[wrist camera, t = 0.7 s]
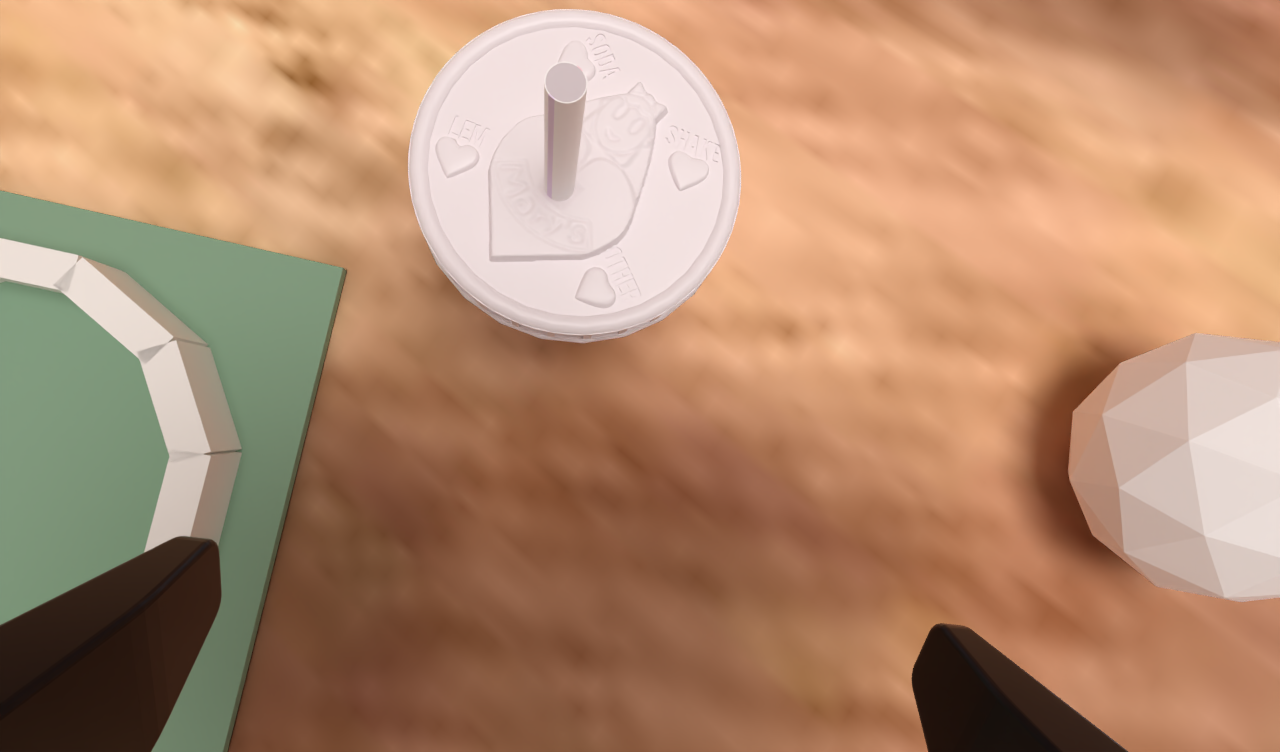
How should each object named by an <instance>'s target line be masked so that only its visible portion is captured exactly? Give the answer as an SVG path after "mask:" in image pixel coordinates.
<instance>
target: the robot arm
mask: <svg viewBox="0 0 1280 752" xmlns="http://www.w3.org/2000/svg"><path fill="white" fill-rule="evenodd" d="M221 597H222V589H221V573H220V556H219V548H218V545H217V543H216V542H215V541H213V540H212V539H207V538H198V537H189V536H178V537H175V538H172V539H170V540H168V541H166V542H164V543H162V544H160V545H158V546H156V547H154V548H152V549H150V550H148V551H146V552H144V553H142V554H140V555H138V556H136V557H134V558H132V559H130V560H128V561H126V562H124V563H122V564H120V565H118V566H116V567H114V568H112V569H110V570H108V571H106V572H104V573H102V574H100V575H98V576H96V577H94V578H92V579H90V580H88V581H86V582H84V583H83V584H81V585H79V586H77V587H75V588H73V589H71V590H69V591H67V592H65V593H63V594H61V595H59V596H57V597H55V598H53V599H51V600H49V601H47V602H45V603H43V604H41V605H39V606H37V607H35V608H33V609H31V610H29V611H27V612H25V613H23V614H21V615H19V616H17V617H15V618H13V619H11V620H9V621H7V622H5V623H3V624H1V625H0V752H151V751H152V749H153V748H154V746H155V744H156V742H157V741H158V739H159V737H160V735H161V733H162V731H163V729H164V727H165V725H166V723H167V721H168V719H169V717H170V715H171V713H172V711H173V708H174V706H175V704H176V702H177V700H178V698H179V695H180V693H181V691H182V689H183V687H184V685H185V683H186V680H187V678H188V676H189V674H190V672H191V670H192V668H193V665H194V663H195V661H196V659H197V657H198V655H199V652H200V650H201V648H202V646H203V644H204V642H205V640H206V637H207V635H208V633H209V631H210V629H211V627H212V625H213V622H214V620H215V618H216V616H217V613H218V611H219V607H220V603H221ZM912 687H913V692H914V696H915V700H916V704H917V708H918V712H919V716H920V720H921V724H922V728H923V732H924V736H925V740H926V744H927V749H928V752H1128V751H1127V750H1126V749H1124V748H1123V747H1122V746H1120V745H1119V744H1118V743H1117V742H1115V741H1114V740H1113V739H1111V738H1110V737H1109V736H1108V735H1106V734H1105V733H1104V732H1102V731H1101V730H1100V729H1099V728H1097V727H1096V726H1095V725H1093V724H1092V723H1091V722H1090V721H1088V720H1087V719H1086V718H1084V717H1083V716H1082V715H1081V714H1079V713H1078V712H1077V711H1075V710H1074V709H1073V708H1072V707H1070V706H1069V705H1068V704H1066V703H1065V702H1064V701H1063V700H1061V699H1060V698H1059V697H1057V696H1056V695H1055V694H1054V693H1052V692H1051V691H1050V690H1048V689H1047V688H1046V687H1045V686H1043V685H1042V684H1041V683H1039V682H1038V681H1037V680H1036V679H1034V678H1033V677H1032V676H1030V675H1029V674H1028V673H1027V672H1025V671H1024V670H1023V669H1021V668H1020V667H1019V666H1018V665H1016V664H1015V663H1014V662H1012V661H1011V660H1010V659H1009V658H1007V657H1006V656H1005V655H1003V654H1002V653H1001V652H1000V651H998V650H997V649H996V648H994V647H993V646H992V645H991V644H989V643H988V642H987V641H985V640H984V639H983V638H982V637H980V636H979V635H978V634H976V633H975V632H974V631H973V630H971V629H970V628H968V627H965V626H961V625H952V624H944V623H940V624H936V625H935V626H933V627H932V628H931V630H930V632H929V634H928V636H927V638H926V640H925V643H924V645H923V647H922V649H921V652H920V654H919V656H918V658H917V660H916V663H915V665H914V668H913V672H912Z"/></svg>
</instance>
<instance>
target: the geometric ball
mask: <svg viewBox="0 0 1280 752" xmlns="http://www.w3.org/2000/svg"><path fill="white" fill-rule="evenodd" d="M1068 474H1069V480H1070V483H1071V485H1072V487H1073V490H1074V492H1075V495H1076V497H1077V499H1078V502H1079V504H1080V507H1081V509H1082V511H1083V514H1084V516H1085V519H1086V521H1087V523H1088V526H1089V528H1090V531H1091V533H1092V535H1093V536H1094V537H1095V538H1097V539H1098V540H1099V541H1100V542H1101V543H1103V544H1104V545H1105V546H1106V547H1108V548H1109V549H1110V550H1111V551H1113V552H1114V553H1115V554H1116V555H1118V556H1119V557H1120V558H1121V559H1123V560H1124V561H1125V562H1126V563H1128V564H1129V565H1130V566H1131V567H1133V568H1134V569H1135V570H1136V571H1138V572H1139V573H1140V574H1141V575H1143V576H1144V577H1145V578H1146V579H1148V580H1149V581H1150V582H1151V583H1153V584H1154V585H1155V586H1156V587H1161V588H1166V589H1172V590H1177V591H1183V592H1188V593H1194V594H1199V595H1205V596H1210V597H1216V598H1221V599H1227V600H1232V601H1238V602H1245V601H1253V600H1262V599H1271V598H1280V342H1274V341H1265V340H1255V339H1246V338H1237V337H1228V336H1219V335H1210V334H1201V333H1194V334H1192V335H1189V336H1187V337H1184V338H1182V339H1179V340H1177V341H1174V342H1172V343H1169V344H1166V345H1164V346H1161V347H1159V348H1156V349H1154V350H1151V351H1149V352H1146V353H1144V354H1141V355H1139V356H1136V357H1134V358H1131V359H1129V360H1126V361H1124V362H1121V363H1120V364H1119V365H1118V366H1117V367H1116V368H1115V369H1114V370H1113V371H1112V372H1111V373H1110V374H1109V375H1108V376H1107V377H1106V378H1105V379H1104V380H1103V381H1102V382H1101V383H1100V384H1099V385H1098V386H1097V387H1096V388H1095V389H1094V390H1093V392H1092V393H1091V394H1090V395H1089V396H1088V397H1087V398H1086V399H1085V400H1084V401H1083V402H1082V403H1081V404H1080V405H1079V406H1078V407H1077V408H1076V409H1075V410H1074V411H1073V416H1072V428H1071V440H1070V452H1069V464H1068Z"/></svg>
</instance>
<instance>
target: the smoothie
mask: <svg viewBox="0 0 1280 752" xmlns="http://www.w3.org/2000/svg"><path fill="white" fill-rule="evenodd" d="M408 175H409V187H410V192H411V198H412V203H413V207H414V210H415V214H416V217H417V220H418V222H419V226H420V229H421V231H422V233H423V235H424V237H425V240H426V242H427V244H428V246H429V248H430V251H431V253H432V255H433V257H434V259H435V261H436V264H437V265H438V266H439V268H440V269H441V270H442V271H443V272H444V274H445V275H446V276H447V277H448V279H449V280H450V281H451V282H452V283H453V285H454V286H455V287H456V288H457V289H458V291H459V292H460V293H461V294H462V295H463V297H464V298H465V299H467V300H468V301H470V302H471V303H472V304H474V305H475V306H477V307H478V308H479V309H481V310H482V311H483V312H485V313H486V314H488V315H489V316H490V317H492V318H493V319H495V320H496V321H497V322H499V323H500V324H503V325H506V326H508V327H511V328H514V329H516V330H519V331H521V332H524V333H527V334H529V335H532V336H535V337H537V338H540V339H547V340H557V341H566V342H576V343H588V342H595V341H601V340H608V339H614V338H620V337H626V336H628V335H630V334H632V333H635V332H637V331H639V330H641V329H644V328H646V327H648V326H650V325H653V324H655V323H657V322H659V321H662V320H663V319H664V318H666V317H667V316H668V315H669V314H671V313H672V312H673V311H674V310H675V309H677V308H678V307H679V306H680V305H682V304H683V303H684V302H685V301H686V300H688V299H689V298H690V297H691V296H693V295H694V294H695V292H696V291H697V289H698V288H699V287H700V285H701V284H702V282H703V281H704V280H705V278H706V277H707V275H708V274H709V273H710V271H711V270H712V268H713V267H714V266H715V264H716V263H717V261H718V260H719V258H720V256H721V254H722V252H723V250H724V249H725V247H726V245H727V242H728V240H729V237H730V235H731V233H732V230H733V226H734V223H735V220H736V216H737V211H738V206H739V201H740V191H741V166H740V156H739V151H738V145H737V140H736V137H735V133H734V130H733V127H732V124H731V121H730V119H729V116H728V114H727V111H726V109H725V107H724V105H723V103H722V101H721V99H720V98H719V96H718V94H717V93H716V91H715V89H714V88H713V86H712V85H711V83H710V82H709V81H708V79H707V78H706V77H705V75H704V74H703V73H702V72H701V70H700V69H699V68H698V67H697V66H696V65H695V64H694V63H693V62H692V61H691V60H690V59H689V58H688V57H687V56H686V55H685V54H684V53H683V52H681V51H680V50H679V49H678V48H677V47H675V46H674V45H673V44H671V43H670V42H669V41H667V40H666V39H665V38H663V37H661V36H660V35H658V34H656V33H655V32H653V31H651V30H649V29H647V28H645V27H643V26H641V25H639V24H637V23H634V22H632V21H629V20H626V19H624V18H621V17H617V16H614V15H610V14H607V13H601V12H596V11H590V10H578V9H557V10H548V11H540V12H535V13H530V14H526V15H523V16H519V17H516V18H513V19H510V20H508V21H505V22H503V23H501V24H498V25H496V26H494V27H492V28H490V29H489V30H487V31H485V32H483V33H481V34H480V35H479V36H477V37H476V38H474V39H473V40H471V41H470V42H468V43H467V44H466V45H465V46H464V47H463V48H461V49H460V50H459V51H458V52H457V53H456V54H455V55H454V56H453V57H452V58H451V59H450V60H449V61H448V62H447V63H446V64H445V65H444V67H443V68H442V69H441V71H440V72H439V73H438V75H437V76H436V77H435V79H434V80H433V82H432V84H431V85H430V87H429V88H428V90H427V92H426V94H425V96H424V98H423V100H422V102H421V104H420V107H419V110H418V113H417V115H416V118H415V121H414V125H413V129H412V133H411V139H410V146H409V155H408Z"/></svg>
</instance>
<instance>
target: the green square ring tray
mask: <svg viewBox="0 0 1280 752" xmlns="http://www.w3.org/2000/svg"><path fill="white" fill-rule="evenodd" d="M345 275H346V270H345V269H344V268H341V267H337V266H332V265H328V264H323V263H319V262H314V261H310V260H306V259H301V258H297V257H292V256H288V255H283V254H279V253H275V252H270V251H266V250H261V249H257V248H252V247H248V246H244V245H239V244H235V243H230V242H226V241H221V240H217V239H213V238H208V237H204V236H199V235H195V234H190V233H186V232H182V231H177V230H173V229H168V228H164V227H159V226H155V225H151V224H146V223H142V222H137V221H133V220H128V219H124V218H120V217H115V216H111V215H106V214H102V213H97V212H93V211H89V210H84V209H80V208H75V207H71V206H66V205H62V204H58V203H53V202H49V201H44V200H40V199H35V198H31V197H27V196H22V195H18V194H13V193H9V192H4V191H0V625H1V624H3V623H5V622H7V621H9V620H11V619H13V618H15V617H17V616H19V615H21V614H23V613H25V612H27V611H29V610H31V609H33V608H35V607H37V606H39V605H41V604H43V603H45V602H47V601H49V600H51V599H53V598H55V597H57V596H59V595H61V594H63V593H65V592H67V591H69V590H71V589H73V588H75V587H77V586H79V585H81V584H83V583H84V582H86V581H88V580H90V579H92V578H94V577H96V576H98V575H100V574H102V573H104V572H106V571H108V570H110V569H112V568H114V567H116V566H118V565H120V564H122V563H124V562H126V561H128V560H130V559H132V558H134V557H136V556H138V555H140V554H142V553H144V552H146V551H148V550H150V549H152V548H154V547H156V546H158V545H160V544H162V543H164V542H166V541H168V540H170V539H172V538H175V537H178V536H189V537H198V538H207V539H212V540H213V541H215V542H216V543H217V545H218V548H219V556H220V573H221V589H222V597H221V603H220V607H219V611H218V613H217V616H216V618H215V620H214V622H213V625H212V627H211V629H210V631H209V633H208V635H207V637H206V640H205V642H204V644H203V646H202V648H201V650H200V652H199V655H198V657H197V659H196V661H195V663H194V665H193V668H192V670H191V672H190V674H189V676H188V678H187V680H186V683H185V685H184V687H183V689H182V691H181V693H180V695H179V698H178V700H177V702H176V704H175V706H174V708H173V711H172V713H171V715H170V717H169V719H168V721H167V723H166V725H165V727H164V729H163V731H162V733H161V735H160V737H159V739H158V741H157V742H156V744H155V746H154V748H153V749H152V751H151V752H228V747H229V743H230V739H231V735H232V731H233V727H234V723H235V719H236V715H237V711H238V707H239V703H240V699H241V695H242V691H243V687H244V683H245V679H246V675H247V671H248V667H249V663H250V659H251V655H252V651H253V647H254V643H255V639H256V635H257V630H258V626H259V622H260V618H261V614H262V610H263V606H264V602H265V598H266V594H267V590H268V586H269V582H270V578H271V574H272V570H273V566H274V562H275V558H276V554H277V550H278V546H279V542H280V538H281V534H282V530H283V526H284V522H285V517H286V513H287V509H288V505H289V501H290V497H291V493H292V489H293V485H294V481H295V477H296V473H297V469H298V465H299V461H300V457H301V453H302V449H303V445H304V441H305V437H306V433H307V429H308V425H309V421H310V417H311V413H312V409H313V404H314V400H315V396H316V392H317V388H318V384H319V380H320V376H321V372H322V368H323V364H324V360H325V356H326V352H327V348H328V344H329V340H330V336H331V332H332V328H333V324H334V320H335V316H336V312H337V308H338V304H339V300H340V296H341V291H342V287H343V283H344V279H345Z"/></svg>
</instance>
